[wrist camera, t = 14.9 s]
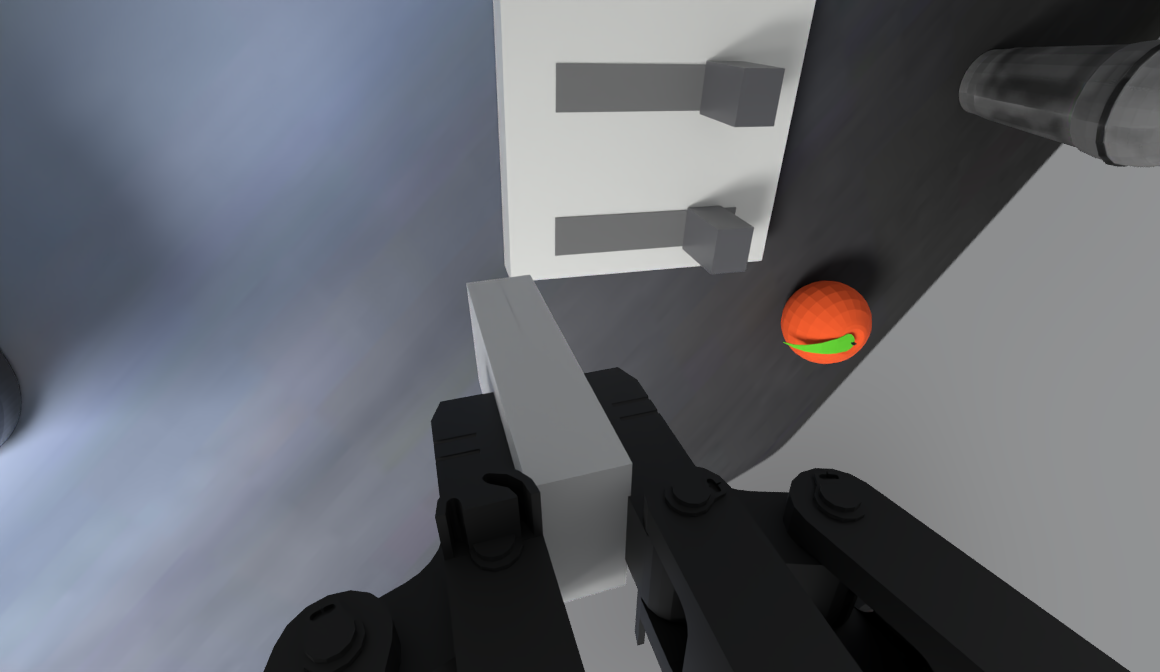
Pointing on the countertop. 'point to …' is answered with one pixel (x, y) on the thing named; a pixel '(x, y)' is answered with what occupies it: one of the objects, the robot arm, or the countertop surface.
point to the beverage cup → (1074, 97)
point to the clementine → (826, 322)
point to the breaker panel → (642, 130)
